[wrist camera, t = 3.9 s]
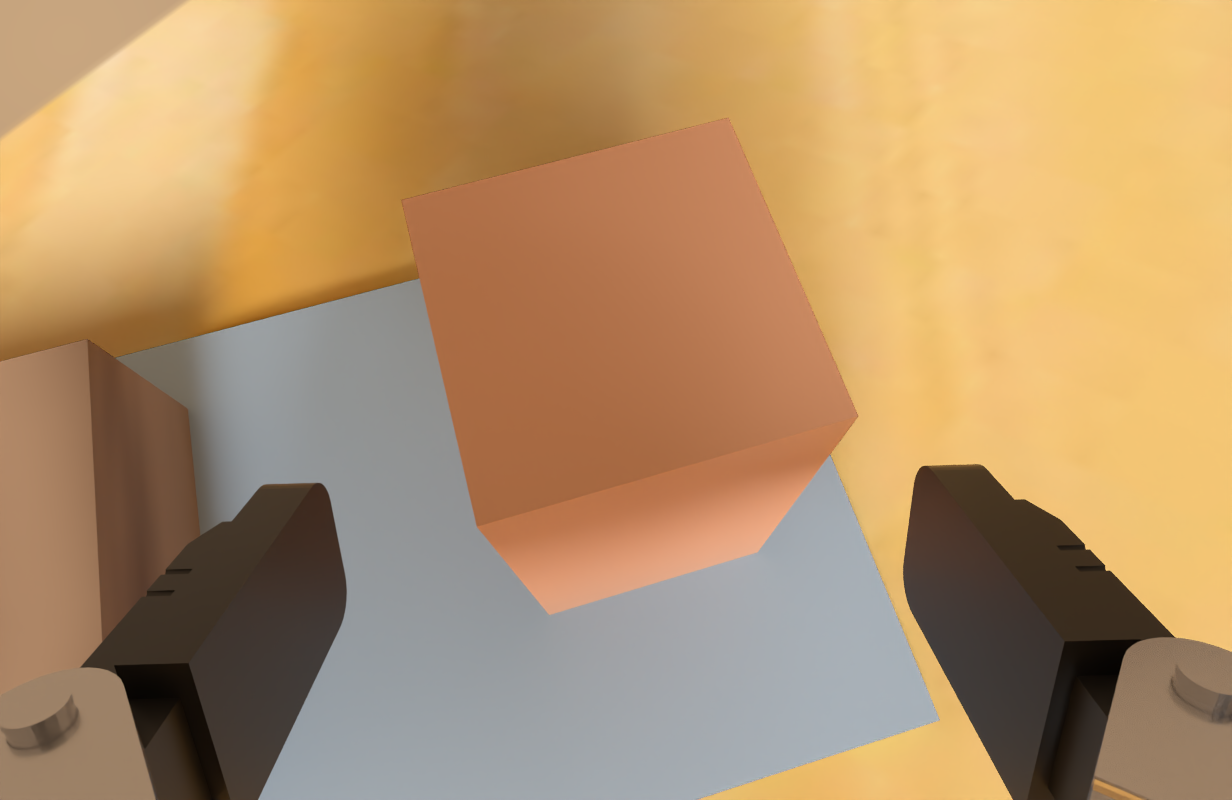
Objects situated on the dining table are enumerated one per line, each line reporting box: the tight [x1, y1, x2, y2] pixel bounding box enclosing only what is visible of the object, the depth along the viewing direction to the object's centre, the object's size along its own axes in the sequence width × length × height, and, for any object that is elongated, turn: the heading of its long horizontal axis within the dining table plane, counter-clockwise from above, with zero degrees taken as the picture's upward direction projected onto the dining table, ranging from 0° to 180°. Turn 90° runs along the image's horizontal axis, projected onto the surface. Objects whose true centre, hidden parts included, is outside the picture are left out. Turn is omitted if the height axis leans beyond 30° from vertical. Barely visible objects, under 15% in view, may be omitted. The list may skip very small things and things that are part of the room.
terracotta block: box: [402, 118, 858, 615], centre depth 15 cm, size 5×5×9 cm
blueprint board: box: [115, 278, 940, 800], centre depth 19 cm, size 26×14×1 cm, turn 106°
